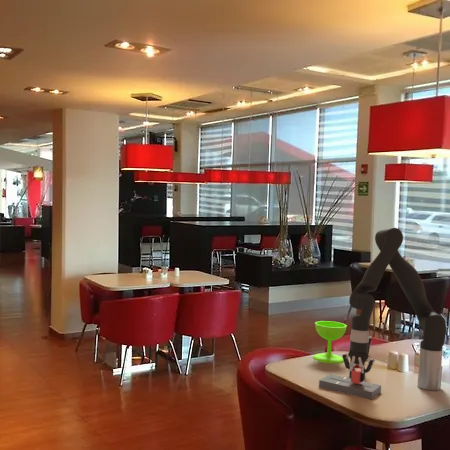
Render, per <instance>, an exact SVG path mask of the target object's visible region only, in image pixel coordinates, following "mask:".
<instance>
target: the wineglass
mask: <svg viewBox="0 0 450 450" xmlns="http://www.w3.org/2000/svg"><path fill="white" fill-rule="evenodd" d="M314 325H315V330H316V333H317V334H318V336H320V337H321V338H322V339H324V340H327V349H326V350H327V351H326V353H324V352H321V353H315V354H314V355H313V356H312V359H313V360H314V359H315V360H314V361H316V360H317V361H316V362H320V363H323V364H343V363H344V360H343V357H342V355H341V356H340V355H338V354H334V353H332V345H333V344H332V342H333V341H336V340H338V339H341V338H342V337H343V336H344V335H345V333H346V331H347V326H348V325H347V324H345V323H342V322H338V321H331V320H330V321H329V320H320V321H319V320H317V321H315V322H314Z"/></svg>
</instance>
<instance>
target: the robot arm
mask: <svg viewBox="0 0 450 450" xmlns="http://www.w3.org/2000/svg"><path fill="white" fill-rule="evenodd" d="M374 235H375V236H374V241H375V244H376V247H377V248H378V250H379V252H378V254H377V256H376V257H375V258H374V259H373V261H372V262H371V263H370V264H369V265H368V267H367V269H366V271H365V273H364V275H363V277H362V279H361V281H360V282H359V283H358V285H357V286H356V287H355V288H354V289H353V291H352V292H351V294H350V295H349V299H348V300H349V301H348V303H349V306H350V307H351V308H352V309H356V310H361V312H360V314H355V315H353V316H352V318H351V331H350V336H349V338H350V341H349V351H348V353H343V354H342V355H341V357H342V358H343V360H344V362H343V363H344V366H345V368H346V369H347V370H349V378H351V372H352V370H353V369H354V368H355V365H356V364H359V365H360V369H361V376H360V382H363V381H364V382H365V379H366V373H367V374H368V373H369V372H370V371H371V369H372V367H373V365H374V363H375V358H371V357H370V356H369V354H368V343H369V336H370V332H369V330H370V320H371V316H372V314H373V311H374V308H375V304H376V302H375V298H374V296H373V295H372V294H370V292H372V293H373V292H375V291H376V290H377V289H378V287H379V285H380V283H381V280H382V278H383V276H384V273H386V270H387V268H388V266H389V267H390V269H391V270H392V272H393V274H394V276H395V278H396V279H397V282H398V283H399V286H400V288H401V289H402V291H403V294H404V295H405V297H406V298H407V300H408V302H409V303H410V304H411V307H412V308H413V311H414V313H415V316H416V318H417V320H418V321H417V322H418V324H419V325H420V327H421V329H422V330H424V332H423V339H422V340H421V341H420V343H419V344H420V345H419V359H418V360H419V361H418V371H417V372H418V373H417V387H418V388H419V389H422V388H423V390H426V389H427V390H426V391H435V390H437V391H436V392H438V391H440V389H441V388H442V377H443V376H442V375H443V374H442V373H443V366H442V360H443V359H442V358H443V346H444V345H445V342H446V334H447V321H446V319H445V317H443V316H442V315H440V314H438V313H437V312H436V311H435V310H434V309H433V307H432V306H431V304H430V303H429V300H428V298H427V294H426V289H425V284H424V282H423V280H422V278H421V276H420V275H419V272H418V271H417V269H416V268H415V267H414V266H413V265H412V264H410V262H408V261H407V260H406V258H404V257H403V256H402V255H401V253H400V252H399V249H400V247H401V245H402V244H403V241H404V234H403V232H402V230H400V228H398V227H389V228H384V229H380V230H378V231H376V233H375V234H374ZM350 359H351V364H350V361H349V360H350ZM366 361H367V363H368V364H367V367H366ZM350 365H351V366H350Z"/></svg>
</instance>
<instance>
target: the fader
mask: <svg viewBox="0 0 450 450" xmlns="http://www.w3.org/2000/svg"><path fill="white" fill-rule="evenodd" d="M360 376H361V369H358V368H355V369H353V370H352V372H351V382H352V383H356V384H360V383H361V382H360Z"/></svg>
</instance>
